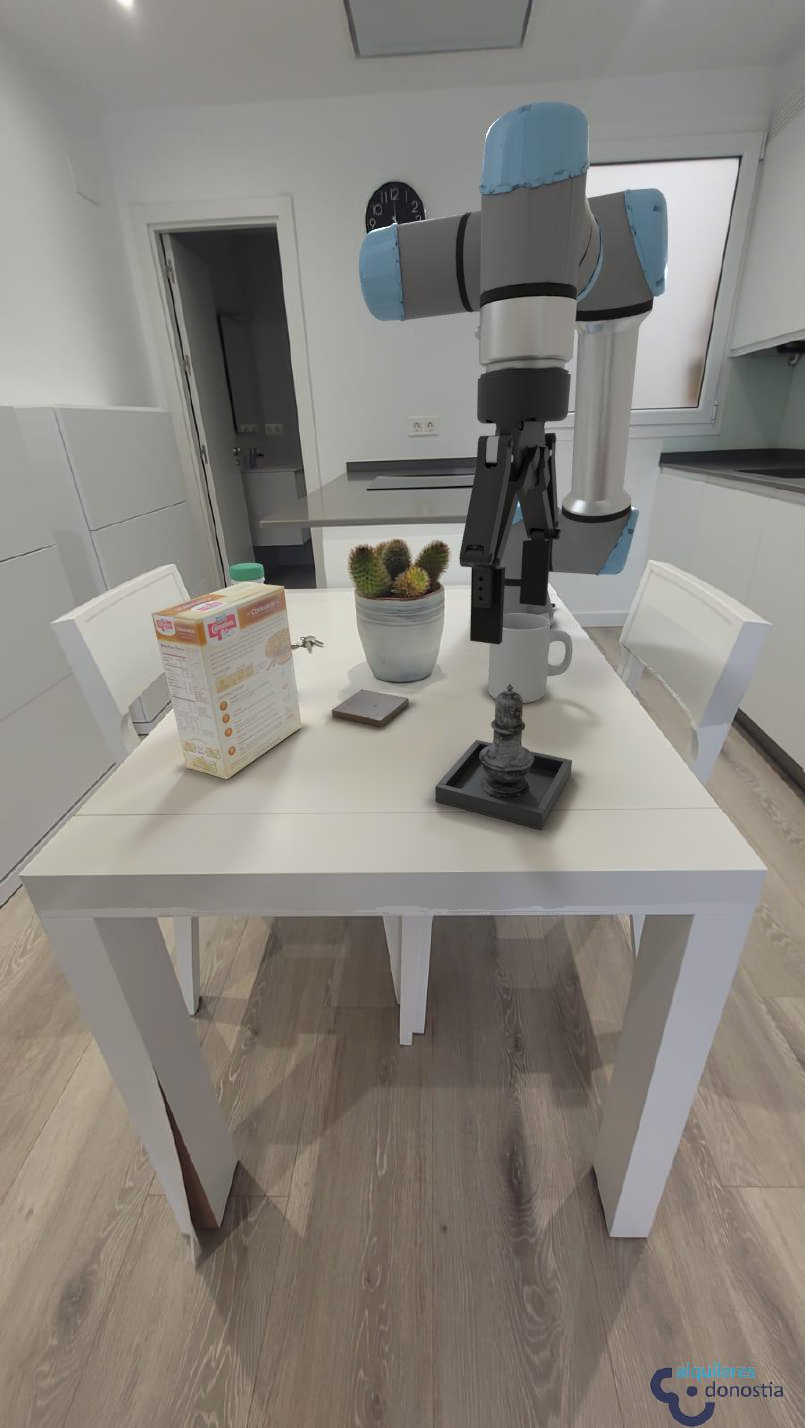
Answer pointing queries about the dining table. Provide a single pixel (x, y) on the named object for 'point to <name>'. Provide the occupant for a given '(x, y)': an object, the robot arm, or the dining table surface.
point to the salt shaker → (507, 749)
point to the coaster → (370, 707)
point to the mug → (525, 656)
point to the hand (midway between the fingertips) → (511, 621)
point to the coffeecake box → (229, 675)
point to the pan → (525, 810)
